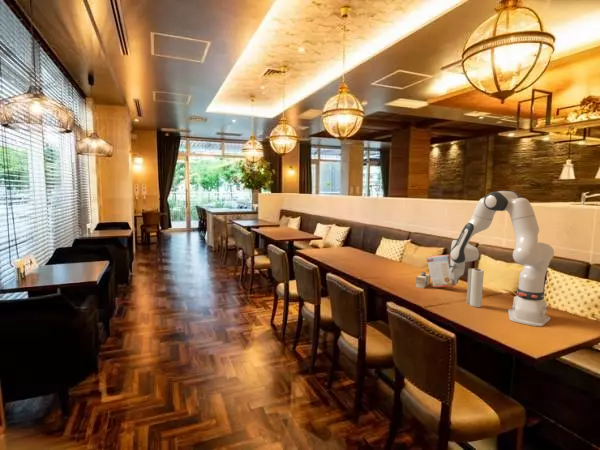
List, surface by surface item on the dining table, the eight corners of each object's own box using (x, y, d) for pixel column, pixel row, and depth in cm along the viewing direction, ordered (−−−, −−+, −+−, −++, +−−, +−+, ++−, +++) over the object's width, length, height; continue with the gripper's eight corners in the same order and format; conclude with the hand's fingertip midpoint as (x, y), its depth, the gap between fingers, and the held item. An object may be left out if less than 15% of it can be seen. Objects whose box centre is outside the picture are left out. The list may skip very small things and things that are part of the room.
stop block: (423, 288, 232) (423, 275, 231) (415, 286, 236) (416, 274, 235) (430, 283, 243) (430, 271, 242) (423, 282, 246) (423, 270, 245)
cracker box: (456, 285, 229) (450, 254, 230) (453, 287, 224) (446, 255, 226) (436, 285, 238) (430, 256, 240) (432, 287, 234) (426, 257, 235)
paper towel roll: (483, 307, 197) (486, 270, 194) (474, 307, 196) (476, 271, 193) (475, 303, 204) (477, 267, 201) (466, 303, 203) (468, 268, 200)
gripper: (457, 266, 215) (456, 288, 217) (467, 261, 230) (465, 281, 232) (447, 265, 219) (445, 286, 221) (457, 259, 234) (455, 279, 236)
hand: (456, 283), depth 227 cm, fingers closed, pressing on cracker box
